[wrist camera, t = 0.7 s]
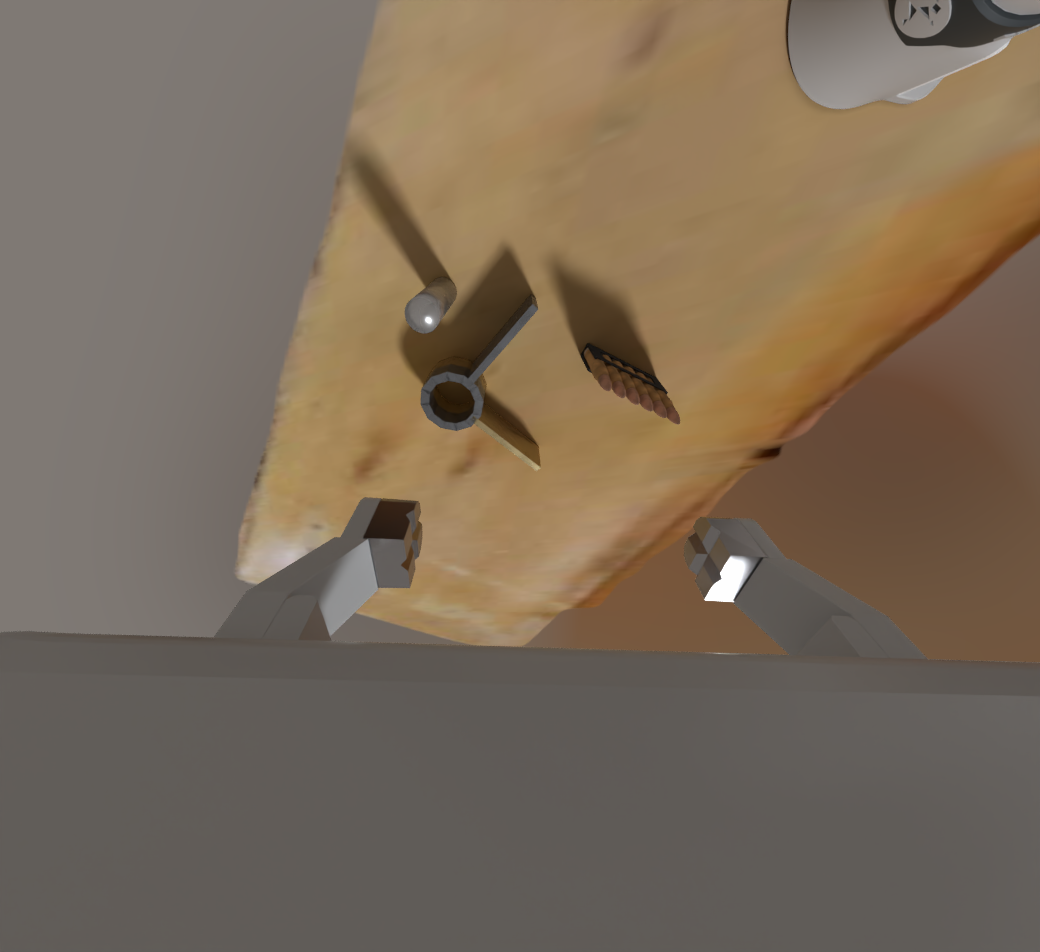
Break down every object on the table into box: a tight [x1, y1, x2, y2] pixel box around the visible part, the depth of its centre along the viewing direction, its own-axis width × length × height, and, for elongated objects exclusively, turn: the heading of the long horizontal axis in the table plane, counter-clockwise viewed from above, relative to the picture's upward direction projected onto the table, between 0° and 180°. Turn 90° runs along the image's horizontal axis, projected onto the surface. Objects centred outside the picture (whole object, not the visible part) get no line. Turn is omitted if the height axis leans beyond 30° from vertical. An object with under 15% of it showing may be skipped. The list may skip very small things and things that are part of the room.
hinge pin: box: [405, 277, 457, 333], centre depth 38 cm, size 3×3×12 cm
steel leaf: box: [421, 294, 538, 431], centre depth 45 cm, size 18×7×6 cm, turn 138°
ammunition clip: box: [581, 343, 680, 424], centre depth 43 cm, size 11×2×12 cm, turn 65°
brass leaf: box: [427, 357, 541, 471], centre depth 49 cm, size 7×18×6 cm, turn 48°
